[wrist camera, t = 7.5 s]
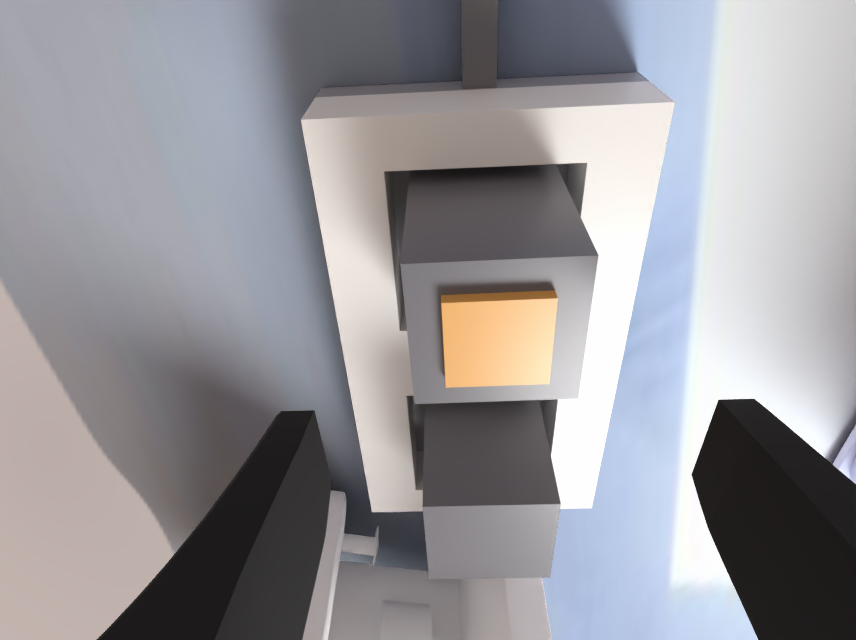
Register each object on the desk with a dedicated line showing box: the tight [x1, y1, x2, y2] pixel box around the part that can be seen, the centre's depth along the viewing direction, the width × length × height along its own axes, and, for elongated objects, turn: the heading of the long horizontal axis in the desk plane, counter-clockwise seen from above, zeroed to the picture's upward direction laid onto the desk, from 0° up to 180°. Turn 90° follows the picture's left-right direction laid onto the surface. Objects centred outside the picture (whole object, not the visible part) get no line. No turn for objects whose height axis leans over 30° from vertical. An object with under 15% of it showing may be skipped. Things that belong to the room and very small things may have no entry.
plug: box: [400, 164, 599, 404], centre depth 15 cm, size 4×4×6 cm
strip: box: [301, 0, 675, 579], centre depth 16 cm, size 22×9×7 cm, turn 3°
